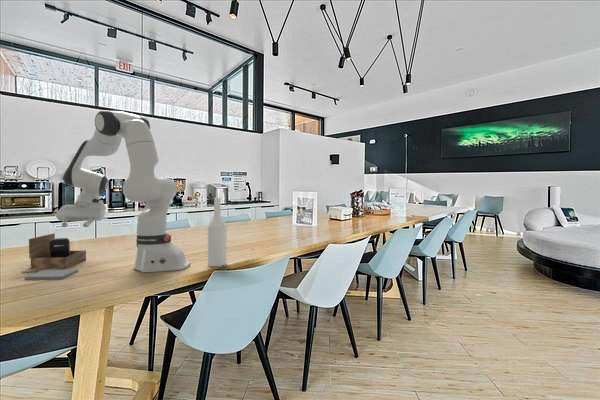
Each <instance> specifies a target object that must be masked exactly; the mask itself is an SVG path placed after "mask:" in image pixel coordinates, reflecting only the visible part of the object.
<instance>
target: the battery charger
mask: <svg viewBox="0 0 600 400" xmlns="http://www.w3.org/2000/svg"><path fill="white" fill-rule="evenodd" d="M70 251H71V242H70V239H69V238H68V237H57V238H56V237H55V238H54V239H52V240H51V241H50V255H51V258H65V257H68V256H70Z"/></svg>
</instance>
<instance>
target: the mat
mask: <svg viewBox="0 0 600 400" xmlns="http://www.w3.org/2000/svg"><path fill="white" fill-rule="evenodd" d="M76 273H79V269H63V270H42V271H39V272H33V273H32V274H29V275H26V276H24V280H26V281H27V280H28V281H29V280H30V281H31V280H38V281H39V280H63V279H66V278H68V277H70V276H73V275H74V274H76Z"/></svg>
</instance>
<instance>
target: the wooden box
mask: <svg viewBox="0 0 600 400" xmlns="http://www.w3.org/2000/svg"><path fill="white" fill-rule="evenodd" d="M54 238H56V234H55V233H49V234H45V235H40V236H36V237H32V238H28V254H29V255H28V256H29V257H28V258H29V259H30V268H27V269H25V270H22V271H21V273H36V272H39V271H42V270H67V269H68V268H70V267H73V266H75V265H78V264H80V263H82V262H84V261H87V250H85V249H84V250H77V249H76V250H73V249H72V250H71V249H70V256H68V257H65V258H51V255H50V241H51V240H52V239H54Z"/></svg>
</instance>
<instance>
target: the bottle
mask: <svg viewBox="0 0 600 400" xmlns="http://www.w3.org/2000/svg"><path fill="white" fill-rule="evenodd" d="M213 210H214V211H213V216H212V218H211V220H210V222H209V223H208V225H207V266H208V265H210V266H209V267H212V266H219V267H223V266H222V265H224V266H226V265H227V224H226V222H225V220H224V219H223V217H222V216H221V215H222V214H221V197H214V198H213ZM225 264H226V265H225Z"/></svg>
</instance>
